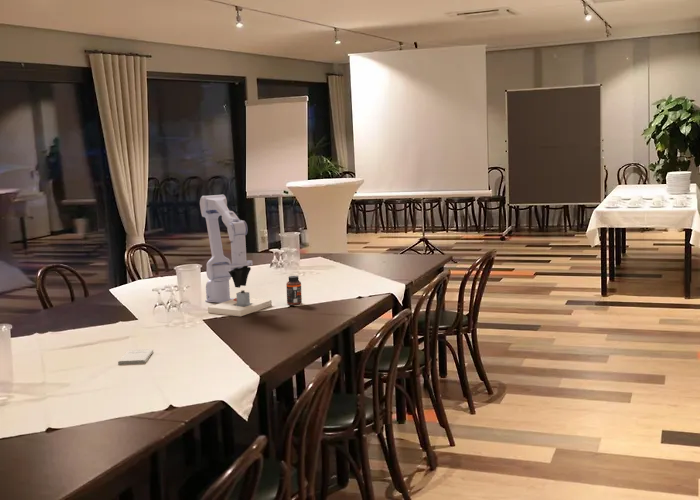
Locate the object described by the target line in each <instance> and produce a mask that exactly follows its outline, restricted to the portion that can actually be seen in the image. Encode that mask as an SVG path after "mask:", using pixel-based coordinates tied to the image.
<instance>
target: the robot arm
mask: <svg viewBox="0 0 700 500" xmlns="http://www.w3.org/2000/svg"><path fill="white" fill-rule="evenodd" d="M199 199H200V200H199V207H200V213H201V217H202V218H205V222H206V228H207V234H208V240H209V247H210V254H211V257H210V259H209V260H208V261H207V262H206V265H205V266H206V276H207V278H208V280H207V282H206V284H205V294H206V296H205V297H206V299H205V302H209V303H216V304H219V303H222V302H226V301H229V300H232V299H235V298H234V297H231V291H230V280H231V278H232V281H233V284H234V288H241V286H242V287H243V286H244V287H245V286H247V281H248V277H249V274H250V272H251V270H252V268H251V267H250V266H253V265H254V264H253V260H252V259H251V260H249V259H248V260H247V247H246V246H247V245H246V244H247V243H246V236H247V234H248V232H249V231H248V224H247V222H246V221H245V220H242V219H240V218H239V216H237V214H236V212H234V211H233V210H230V209H229V208H228V201H227V197H226V195H225V194H223V193H222V194H214V195H213V194H212V195H202V196H201V197H200V198H199ZM220 216H221V221H222V222H223V224H224V226H225V227H226V228H227V234H228V239H229V241H230V252H231V253H230V254H231V259H230V258H229V257H226V256H225V255H224V250H223V242H222V238H221V230H220V229H221V228H220V225H219V217H220Z"/></svg>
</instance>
